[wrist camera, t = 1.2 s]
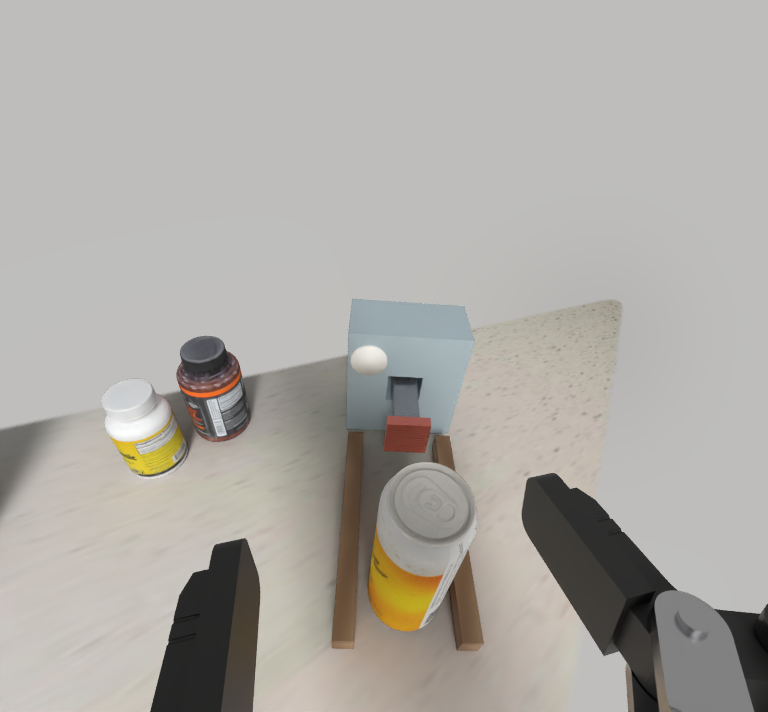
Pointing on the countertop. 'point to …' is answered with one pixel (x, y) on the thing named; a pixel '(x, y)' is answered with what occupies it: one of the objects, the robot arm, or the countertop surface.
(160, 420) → the supplement bottle
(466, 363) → the end cabinet
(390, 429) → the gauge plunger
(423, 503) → the beer can
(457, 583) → the rail track
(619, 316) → the countertop surface
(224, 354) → the supplement bottle
